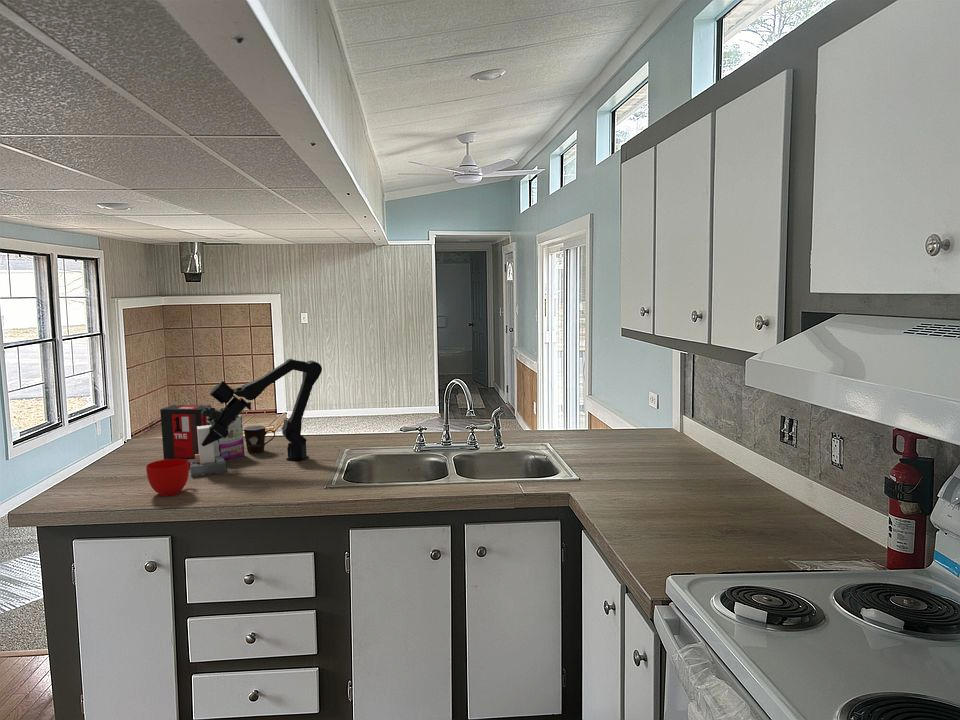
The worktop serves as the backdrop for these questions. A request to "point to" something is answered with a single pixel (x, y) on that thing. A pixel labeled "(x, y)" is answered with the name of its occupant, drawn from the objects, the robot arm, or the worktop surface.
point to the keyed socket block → (207, 466)
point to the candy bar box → (231, 441)
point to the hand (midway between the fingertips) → (201, 444)
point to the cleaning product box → (181, 430)
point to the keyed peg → (204, 451)
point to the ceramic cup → (168, 475)
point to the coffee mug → (256, 438)
